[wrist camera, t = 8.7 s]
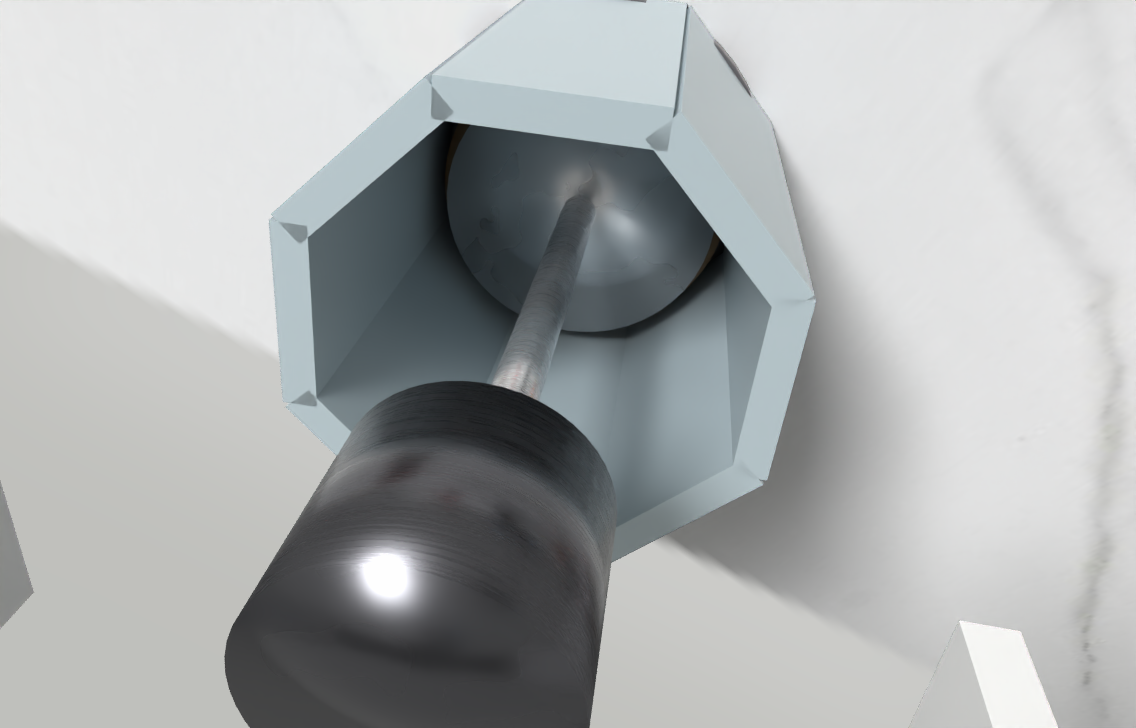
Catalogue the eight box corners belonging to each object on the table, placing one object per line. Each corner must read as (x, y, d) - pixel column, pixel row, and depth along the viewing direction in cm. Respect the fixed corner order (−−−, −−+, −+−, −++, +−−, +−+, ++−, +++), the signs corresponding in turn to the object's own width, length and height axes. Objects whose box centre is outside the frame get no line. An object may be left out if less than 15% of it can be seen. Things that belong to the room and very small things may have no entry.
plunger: (458, 49, 25) (30, 382, 9) (740, 86, 24) (805, 509, 9) (449, 300, 29) (142, 833, 13) (690, 337, 28) (672, 938, 13)
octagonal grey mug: (436, -33, 27) (249, 44, 16) (800, 13, 26) (869, 128, 15) (427, 365, 34) (295, 607, 23) (712, 410, 34) (715, 683, 23)
